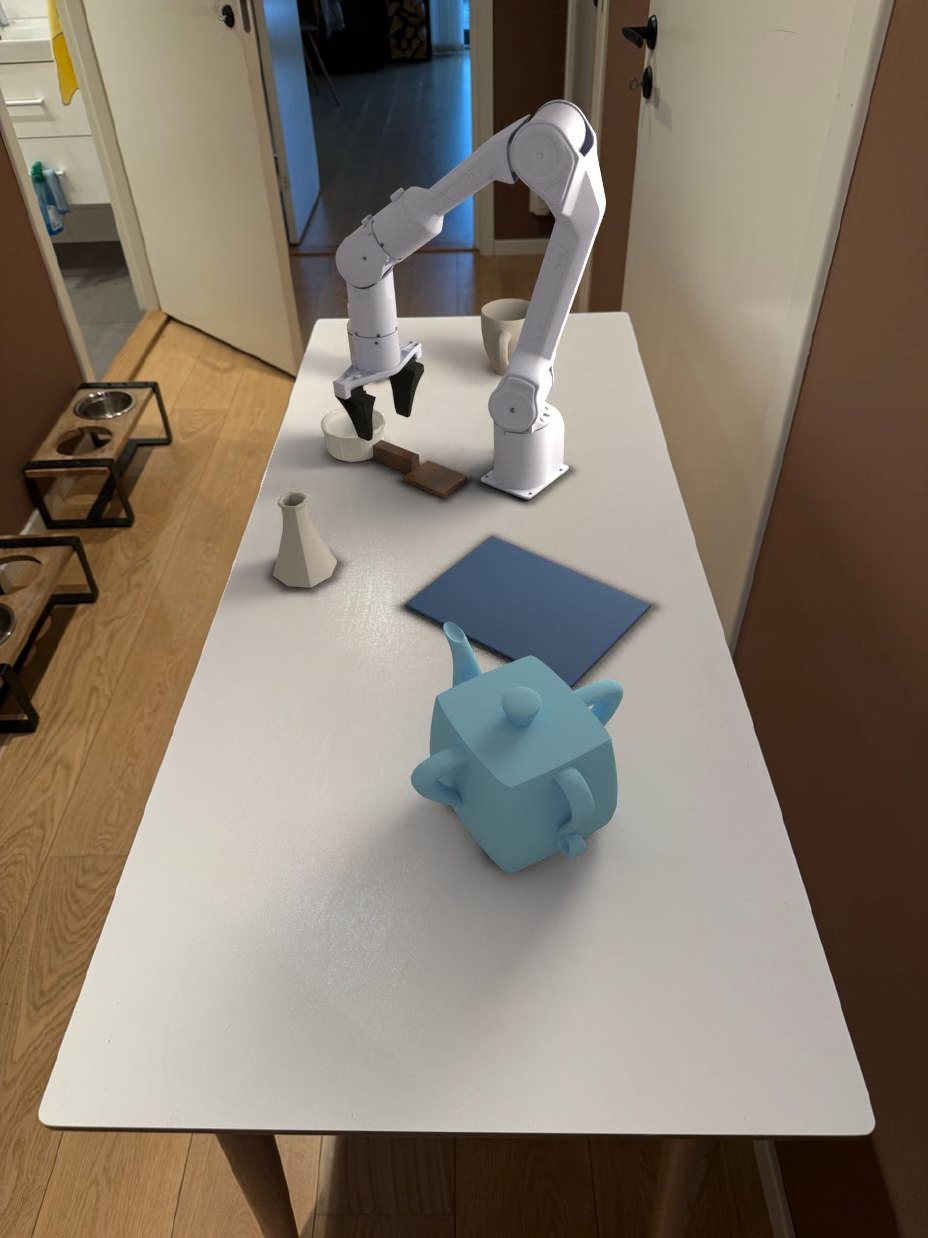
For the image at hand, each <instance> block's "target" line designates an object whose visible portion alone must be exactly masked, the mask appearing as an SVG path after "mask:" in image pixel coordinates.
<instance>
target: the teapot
mask: <svg viewBox="0 0 928 1238" xmlns="http://www.w3.org/2000/svg"><path fill="white" fill-rule="evenodd" d="M442 628H443V633H444V635H445V638H446V640H447V642H448V643H447V644H448V645H449V648H450V652H451V658H452V686H451V688H448V689H446V690H444V691H443V692H440V693H439V694H437V695H436V696H435V700H434V704H433V710H432V717H431V721H430V733H429V757H427V758H426V759H424V760H423V761H422V762H420V763H419V764H417V766H416V767H415V768H414V769H413V771H412V773H411V775H410V783H411V785H412V787H413V789H414V790H415V791H416V792H417V793H418V794H419V795H420V796H421V797H422V798H425V799H427V800H429V801H431V802H435V803H438V804H442V805H447V806H451V808H452V810H453V811H454V812H455V814H456V817H457V818H458V819H459V821H460V822H461V824H462V825H463V826H464V828H465V830H467V832H468V833H469V834H470V835H471V837H472V838H473V840H475V842H476V843H477V844H478V845H479V846H480V847H481V849H482V850H483V851H484V852H485V853H486V855H487V856H489V858H490V859H491V860H492V861H493V863H494V864H496V865H497V866H498V867H499V868H500V869H501V870H502V871H504V872H506V873H508V874H513V873H517V872H520V871H521V870H524V869H526V868H528V867H531V866H532V865H535V864H537V863H538V862H541V861H543V860H545V859H547V858H549V857H551V856H553V855H555V854H557V853H559V852H561V854H563V855H564V856H565V857H567V858H569V859H571V858H573V859H574V858H575V859H576V858H578V857H581V856H582V855H583V854H584V853H585V852H586V850H587V844H586V842H585V840H584V839H585V838H587V837H588V836H590V835H592V834H594V833H595V832H597V831H598V830H601V829H602V828H604V827H606V825H607V824H609V823H610V821H611V820H612V818H613V816H614V814H615V812H616V810H617V807H618V794H619V792H618V791H619V790H618V789H619V788H618V785H619V783H618V770H617V763H616V756H615V750H614V745H613V740H612V736H611V735H610V733H609V731H608V730H607V729H606V727H605V726H607V724H608V723H609V721H610V720H611V719H612V718H613V717H614V714H615V713H616V711H617V710H618V709H619V706H620V704H621V703H622V700H623V697H624V688H623V686H622V684H621V683H620V682H618V680H616V679H615V680H614V679H607V678H606V679H601V680H597V681H594V682H592V683H588V684H586V685H584V686H581V687H580V688H577V689H573V688H570V687H569V686H568V685H567V684H566V683H565V682H564V681H563V680H562V679H561V678H560V677H559V676H558V675H557V674H556V673H555V672H554V671H552V670H551V669H550V668H549V667H548V666H547V665H545V664H544V663H543V662H542V661H541V660H539V659H538V658H536V657H534V656H531V655H530V656H527V657H524V658H521V659H518V660H516V661H513V660H512V661H511V662H508V663H506V664H503V665H501V666H498V667H496V668H494V669H491V670H489V671H486V672H484V673H483V671H482V668H481V667H480V664H479V663H478V660H477V658H476V656H475V653H474V651H473V648H472V647H471V644H470V642H469V640H468V638H467V637H466V636H465V634H464V633H463V631H462V630H461V629H460V628H459V627H458V626H457V625H456V624H454V623H452V622H446V623H445V624H444V625H443V627H442ZM589 707H591V708H589Z"/></svg>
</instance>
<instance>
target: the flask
mask: <svg viewBox="0 0 928 1238" xmlns="http://www.w3.org/2000/svg"><path fill="white" fill-rule="evenodd" d="M308 501H309V497H308V495H306V494H304V493H303V492H301V491H288V492H287V493H284V494H282V495H280V497H279V499H278V500H277V504H276V505H277V506H278V507H279V508H280V509H281V514H282V531H281V537H280V542H279V547H278V552H277V555H276V559H275V564H274V568H273V569H274V570H273V573H272V576H273V577H275V578H276V579H277V580H279V581H280V582H281V583H282V584H284V585H285V586H287V587H298V588H309V589H310V588H313V587H315V586H317V585H319V584H320V583H322V582H324V581H325V580H327V579H329V578H331V577H332V575H333V572H334V570H335V568H336V566H337V563H338V561H337V559H336V557H335V556H334V554H333V553H332V551H331V550H330V549H329V547H328V546H327V544H326V543H325V542H324V540H323V539H322V536H321V535H320V533H319V532H318V531H317V529H316V528H315V526H314V524H313V522H312V520H311V517H310V515H309V512H308V507H307V502H308Z"/></svg>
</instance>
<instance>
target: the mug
mask: <svg viewBox="0 0 928 1238" xmlns="http://www.w3.org/2000/svg"><path fill="white" fill-rule="evenodd" d="M529 304H530V301H529V300H525V299H521V298H500V299H495V300H492V301H489V302H487V303H486V304H484V305H483V306H482V308H481V310H480V327H481V328H480V329H481V336H482V342H483V347H484V350H485V352H486V356H487V358H488V360H489V362H490V365H491V367H492V370H493V372H494V373H496V374H498V375H500V376H504V374H505V372H506V370H507V367H508V365H509V363H510V361H511V359H512V356H513V354H514V351H515V349H516V346H517V343H518V339H519V336H520V333H521V330H522V327H523V323H524V320H525V317H526V314H527V311H528V308H529Z"/></svg>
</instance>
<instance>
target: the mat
mask: <svg viewBox="0 0 928 1238" xmlns="http://www.w3.org/2000/svg"><path fill="white" fill-rule="evenodd" d="M651 606H652V604H651V603H649V602H647V601H645V600H643V599H640V598H637V597H636V596H633V595H631V594H628V593H626V592H623V591H621V590H619V589H617V588H614V587H612V586H610V585H608V584H605V583H603V582H601V581H598V580H596V579H593V578H591V577H589V576H586V575H584V574H582V573H580V572H577V571H574V570H572V569H570V568H568V567H565V566H563V565H561V564H559V563H556V562H554V561H552V560H550V559H546V558H545V557H542V556H539V555H538V554H535V553H534V552H530V551H528V550H526V549H524V548H522V547H519V546H517V545H515V544H512V543H509V542H508V541H505V540H503V539H500V538H498V537H495V536H494V535H491V536H490V537H489V538H487V539H486V540H484V541H483V542H482V543H481V544H480V545H478V546H477V547H476V548H474V549H473V550H472V551H471V552H470V553H468V554H467V555H466V556H464V557H463V558H461V560H459V561H458V562H457V563H455V564H454V565H452V567H450V568H449V569H448V570H446V571H445V572H444V573H443V574H441V575H440V576H439V577H438V578H436V579H435V580H434V581H433V582H432V583H430V584H429V585H428V586H426V587H425V588H423V589H422V590H421V591H420V592H419V593H417V594H416V595H415V596H414V597H412V598H411V599H410V600H409V601H407V602H406V603H405V607H406V608H408V609H409V610H412V611H414V612H416V613H418V614H420V615H422V616H424V617H425V618H428V619H430V620H432V621H434V622H436V623H437V624H439V625H442V626H444V624H445V623H446V622H452V623H454V624H456V625H457V626H458V627H459V628H460V629H461V630H462V631H463V633H464V634H465V636H466V638H467V639H469V640H471V641H473V642H475V643H477V644H479V645H480V646H483V647H484V648H487V649H489V650H491V651H493V652H495V653H497V654H499V655H501V656H503V657H505V658H506V659H509V660H511V661H512V662H513V661H516V660H518V659H521V658H524V657H527V656H530V655H531V656H534V657H536V658H538V659H539V660H541V661H542V662H543V663H544V664H545V665H547V666H548V667H549V668H550V669H551V670H552V671H554V672H555V673H556V674H557V675H558V676H559V677H560V678H561V679H562V680H563V681H564V682H565V683H566V684H567V685H568V686H569V687H570V688H571V689H573V687H574V686H575V685H576V684H577V683H578V682H579V681H580V680H581V679H582V678H583V677H584V676H585V675H586V674H587V673H588V672H589V670H590V669H592V667H594V666H595V664H597V663H598V661H599V660H600V659H602V657H604V655H605V654H606V653H607V652H608V651H609V650H610V649H611V648H612V647H614V645H615V644H616V643H617V642H618V641H619V640H620V639H621V638H622V637H623V636H624V635H625V634H626V632H628V631H629V630H630V629H631V627H633V625H634V624H635V623H636V622H637V621H638V620H639V619H641V617H642V616H643V615H644V614H645V613H646V612H647V611H648V610H649V609H650V608H651Z"/></svg>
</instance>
